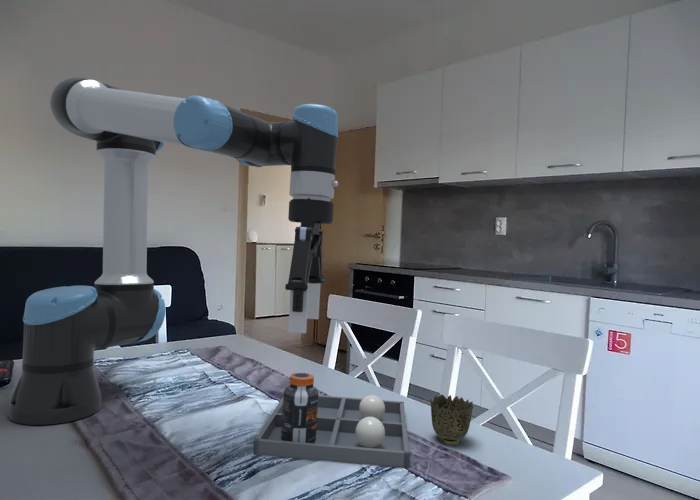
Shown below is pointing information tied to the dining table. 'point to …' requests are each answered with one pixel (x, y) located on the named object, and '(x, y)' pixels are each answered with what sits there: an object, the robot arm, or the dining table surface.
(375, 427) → the egg ball
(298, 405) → the pill bottle
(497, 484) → the dining table surface
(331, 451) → the egg tray
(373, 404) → the egg ball
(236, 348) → the dining table surface
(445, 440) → the cup
